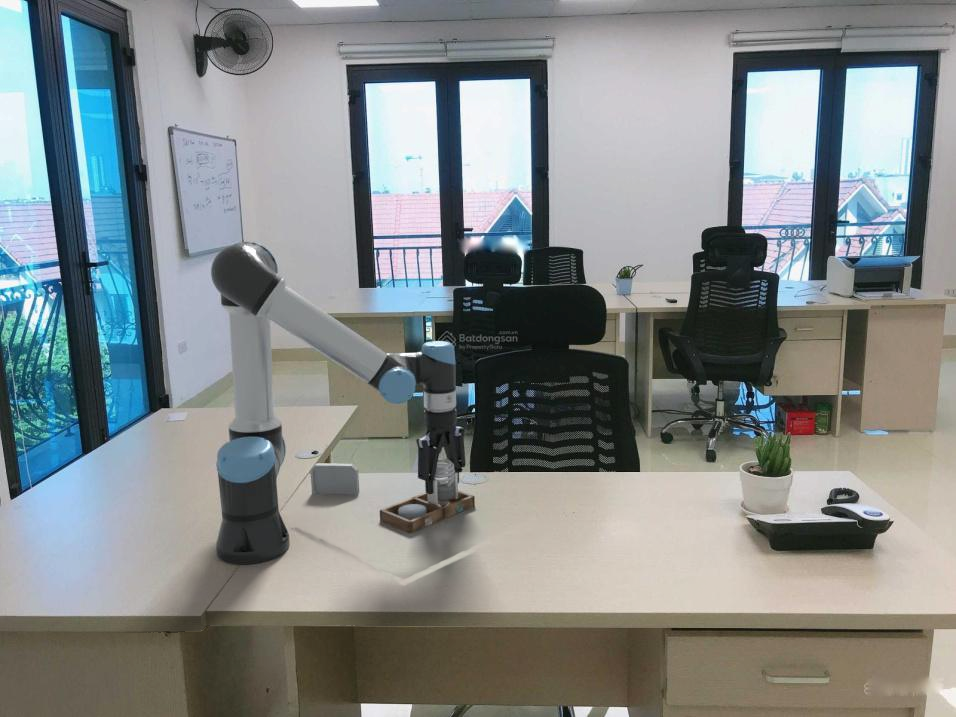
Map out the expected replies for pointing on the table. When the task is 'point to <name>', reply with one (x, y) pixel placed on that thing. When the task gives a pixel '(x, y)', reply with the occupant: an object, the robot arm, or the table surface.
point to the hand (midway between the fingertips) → (443, 501)
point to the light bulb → (445, 481)
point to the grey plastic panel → (334, 479)
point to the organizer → (432, 511)
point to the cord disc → (412, 511)
